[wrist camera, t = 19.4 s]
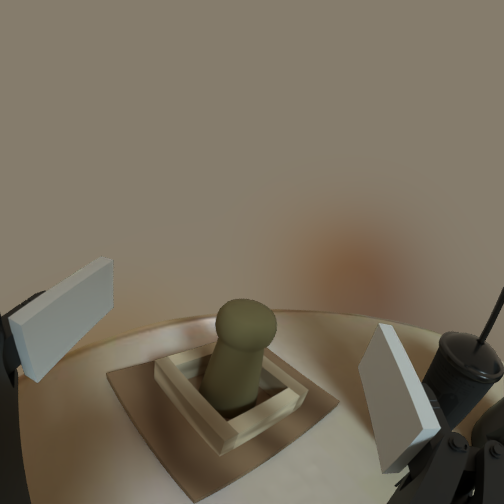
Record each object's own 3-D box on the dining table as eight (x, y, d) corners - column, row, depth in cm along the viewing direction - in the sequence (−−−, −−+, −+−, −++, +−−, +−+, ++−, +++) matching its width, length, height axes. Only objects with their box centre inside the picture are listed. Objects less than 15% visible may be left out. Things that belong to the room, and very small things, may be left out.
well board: (245, 336, 40) (251, 315, 39) (337, 405, 30) (349, 385, 29) (106, 378, 26) (104, 354, 25) (194, 503, 16) (197, 488, 15)
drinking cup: (438, 470, 20) (551, 313, 14) (382, 479, 20) (509, 302, 14) (419, 424, 27) (503, 278, 21) (368, 426, 27) (455, 263, 21)
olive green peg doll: (191, 379, 29) (205, 289, 25) (242, 373, 32) (266, 289, 28) (209, 422, 24) (229, 331, 20) (266, 412, 27) (299, 325, 23)
